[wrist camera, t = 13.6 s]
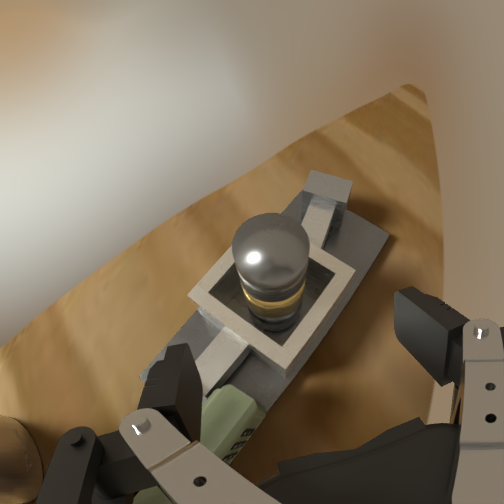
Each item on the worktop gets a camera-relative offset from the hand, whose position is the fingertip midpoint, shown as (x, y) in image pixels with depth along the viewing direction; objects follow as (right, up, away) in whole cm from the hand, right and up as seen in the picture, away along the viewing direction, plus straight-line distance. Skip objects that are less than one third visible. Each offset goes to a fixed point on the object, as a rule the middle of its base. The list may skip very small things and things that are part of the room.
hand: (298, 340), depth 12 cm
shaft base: (0, -1, +14) cm, 14 cm away
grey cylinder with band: (0, -1, +13) cm, 13 cm away
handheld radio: (-9, -17, +6) cm, 20 cm away
